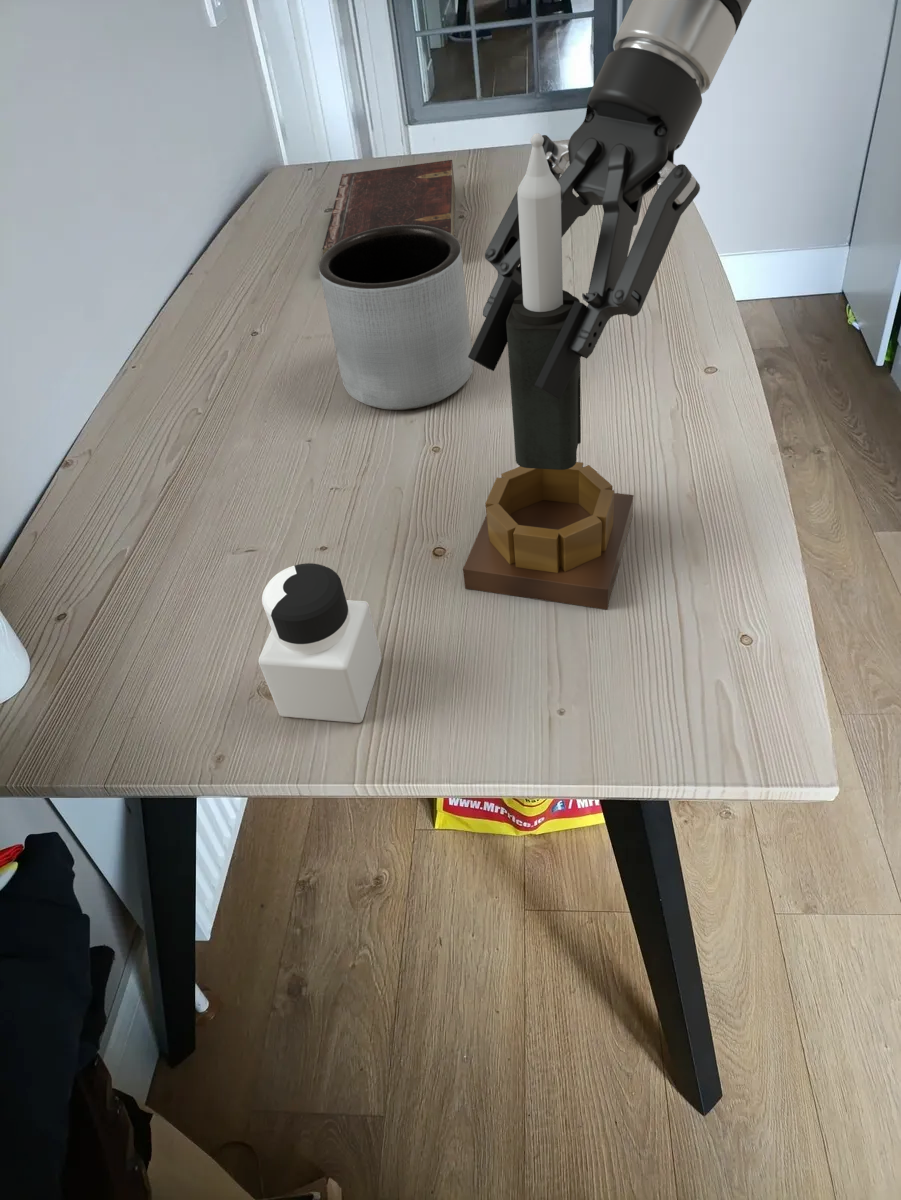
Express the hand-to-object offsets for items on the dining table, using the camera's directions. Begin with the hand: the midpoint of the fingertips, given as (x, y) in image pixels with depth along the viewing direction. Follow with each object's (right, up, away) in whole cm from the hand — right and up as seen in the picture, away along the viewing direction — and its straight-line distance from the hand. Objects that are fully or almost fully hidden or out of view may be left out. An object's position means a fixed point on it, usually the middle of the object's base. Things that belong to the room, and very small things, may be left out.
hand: (513, 377), depth 66 cm
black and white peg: (+4, -4, +8) cm, 10 cm away
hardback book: (-13, +41, +72) cm, 84 cm away
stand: (+5, -12, +16) cm, 21 cm away
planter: (-10, +10, +40) cm, 43 cm away
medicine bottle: (-15, -24, +7) cm, 29 cm away
